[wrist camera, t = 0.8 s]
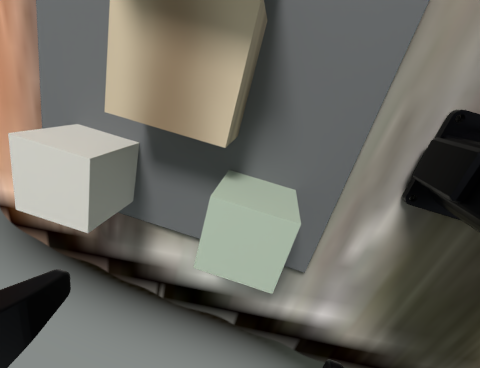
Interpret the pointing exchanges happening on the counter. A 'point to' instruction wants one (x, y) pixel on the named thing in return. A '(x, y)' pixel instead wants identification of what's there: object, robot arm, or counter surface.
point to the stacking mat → (256, 110)
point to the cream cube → (72, 174)
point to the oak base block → (183, 64)
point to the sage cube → (248, 231)
